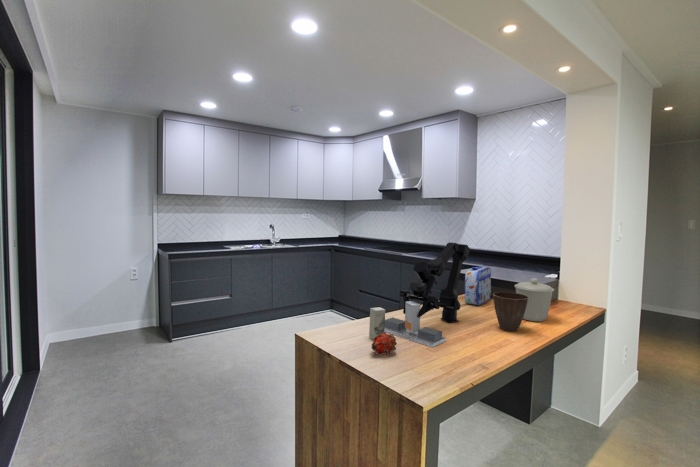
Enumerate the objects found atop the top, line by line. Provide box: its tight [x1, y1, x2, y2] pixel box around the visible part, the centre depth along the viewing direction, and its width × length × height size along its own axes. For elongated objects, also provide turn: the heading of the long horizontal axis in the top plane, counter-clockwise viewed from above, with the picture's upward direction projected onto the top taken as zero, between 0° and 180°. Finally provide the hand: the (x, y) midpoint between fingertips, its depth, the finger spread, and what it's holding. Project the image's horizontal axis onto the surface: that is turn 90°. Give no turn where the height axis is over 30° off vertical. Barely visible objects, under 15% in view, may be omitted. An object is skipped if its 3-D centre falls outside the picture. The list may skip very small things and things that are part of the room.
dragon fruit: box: [370, 332, 398, 356], centre depth 135 cm, size 8×8×12 cm
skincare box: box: [404, 300, 421, 332], centre depth 155 cm, size 6×4×12 cm
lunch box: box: [464, 266, 492, 306], centre depth 215 cm, size 28×10×22 cm, turn 145°
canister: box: [514, 277, 555, 322], centre depth 183 cm, size 18×18×21 cm
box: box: [368, 307, 386, 341], centre depth 150 cm, size 5×4×13 cm
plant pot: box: [492, 291, 528, 333], centre depth 166 cm, size 15×15×16 cm
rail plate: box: [384, 317, 447, 348], centre depth 155 cm, size 10×27×4 cm, turn 45°
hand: (410, 315), depth 154 cm, fingers closed on skincare box, 7 cm apart
